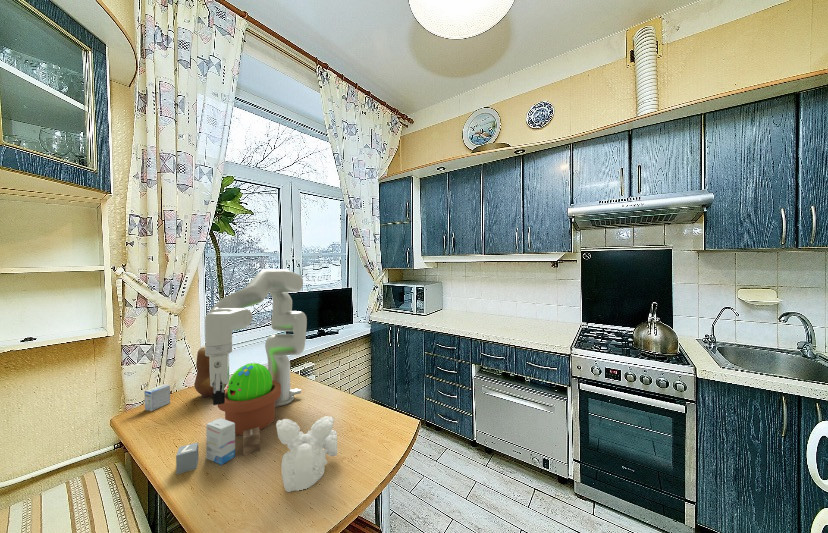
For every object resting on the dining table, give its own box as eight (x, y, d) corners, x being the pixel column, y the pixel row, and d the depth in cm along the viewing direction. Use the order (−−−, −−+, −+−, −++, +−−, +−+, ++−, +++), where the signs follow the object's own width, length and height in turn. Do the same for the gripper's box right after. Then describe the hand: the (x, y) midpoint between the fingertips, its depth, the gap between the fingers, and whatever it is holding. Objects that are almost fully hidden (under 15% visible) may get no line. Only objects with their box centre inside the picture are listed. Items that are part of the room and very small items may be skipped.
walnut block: (259, 443, 107) (259, 426, 107) (259, 450, 103) (259, 433, 103) (243, 447, 105) (243, 430, 105) (243, 455, 100) (243, 437, 100)
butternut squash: (232, 393, 147) (231, 344, 146) (201, 404, 136) (200, 351, 135) (219, 387, 154) (218, 340, 154) (188, 397, 143) (187, 346, 142)
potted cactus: (255, 405, 135) (254, 351, 134) (292, 415, 126) (291, 357, 126) (205, 431, 114) (204, 368, 114) (245, 445, 106) (244, 376, 105)
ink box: (236, 456, 100) (235, 422, 100) (221, 465, 95) (220, 429, 95) (220, 449, 103) (220, 416, 103) (205, 458, 99) (204, 423, 99)
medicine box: (163, 402, 139) (163, 383, 138) (170, 403, 137) (170, 384, 137) (144, 410, 131) (143, 391, 131) (151, 411, 130) (151, 392, 130)
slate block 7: (198, 459, 98) (198, 441, 98) (196, 468, 94) (195, 450, 94) (179, 464, 96) (179, 446, 96) (176, 474, 91) (176, 455, 91)
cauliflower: (268, 479, 77) (277, 408, 93) (271, 511, 87) (279, 442, 103) (342, 466, 83) (339, 402, 99) (336, 497, 93) (334, 434, 109)
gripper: (230, 352, 94) (231, 410, 94) (233, 342, 107) (233, 392, 107) (202, 356, 90) (202, 416, 90) (207, 345, 103) (208, 397, 103)
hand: (219, 403), depth 98 cm, fingers closed
